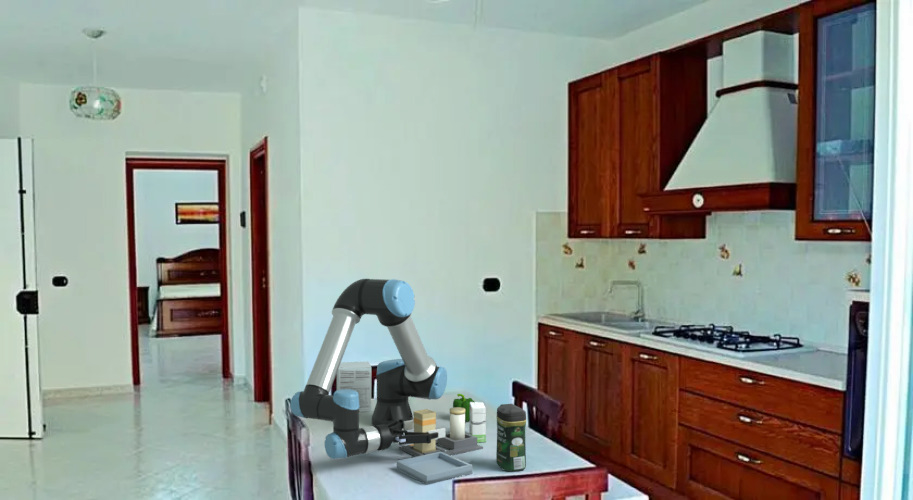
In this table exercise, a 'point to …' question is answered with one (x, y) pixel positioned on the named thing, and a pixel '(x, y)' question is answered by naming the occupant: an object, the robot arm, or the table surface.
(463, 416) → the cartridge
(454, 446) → the holder block
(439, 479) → the tray
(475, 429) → the ink box
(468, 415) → the bell pepper
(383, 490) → the table surface
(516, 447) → the coffee jar
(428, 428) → the beige tall box
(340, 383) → the supplement box
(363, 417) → the table surface
